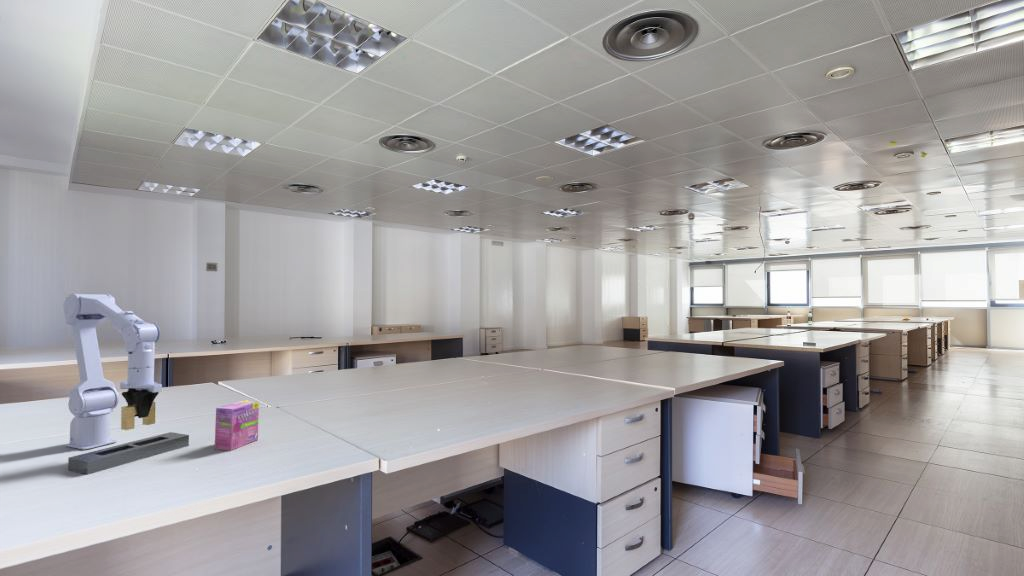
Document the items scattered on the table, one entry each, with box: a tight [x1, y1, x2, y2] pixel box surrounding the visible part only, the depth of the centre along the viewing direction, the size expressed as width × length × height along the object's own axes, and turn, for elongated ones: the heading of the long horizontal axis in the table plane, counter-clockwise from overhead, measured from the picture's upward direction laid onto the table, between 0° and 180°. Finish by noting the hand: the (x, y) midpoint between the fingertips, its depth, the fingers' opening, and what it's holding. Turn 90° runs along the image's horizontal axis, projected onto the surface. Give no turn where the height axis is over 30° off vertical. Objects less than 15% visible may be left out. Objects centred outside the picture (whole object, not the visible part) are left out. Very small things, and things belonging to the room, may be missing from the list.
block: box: [67, 431, 190, 475], centre depth 123 cm, size 8×24×3 cm, turn 159°
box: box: [214, 399, 260, 452], centre depth 134 cm, size 10×6×12 cm, turn 168°
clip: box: [120, 401, 156, 431], centre depth 126 cm, size 2×7×6 cm, turn 160°
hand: (139, 416), depth 126 cm, fingers closed on clip, 2 cm apart
